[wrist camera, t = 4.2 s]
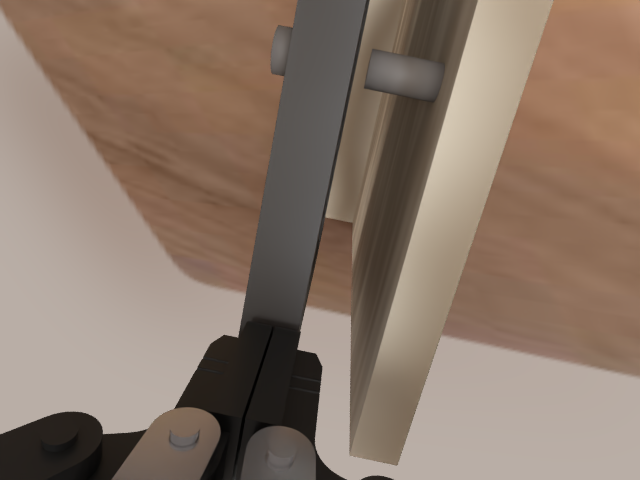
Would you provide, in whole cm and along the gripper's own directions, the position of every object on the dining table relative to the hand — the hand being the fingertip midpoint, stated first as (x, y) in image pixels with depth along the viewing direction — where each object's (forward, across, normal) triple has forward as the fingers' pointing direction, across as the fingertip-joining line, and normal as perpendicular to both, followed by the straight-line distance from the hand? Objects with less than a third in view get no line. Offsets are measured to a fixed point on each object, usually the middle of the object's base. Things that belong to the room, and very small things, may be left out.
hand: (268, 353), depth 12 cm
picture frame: (+15, 0, -6) cm, 16 cm away
